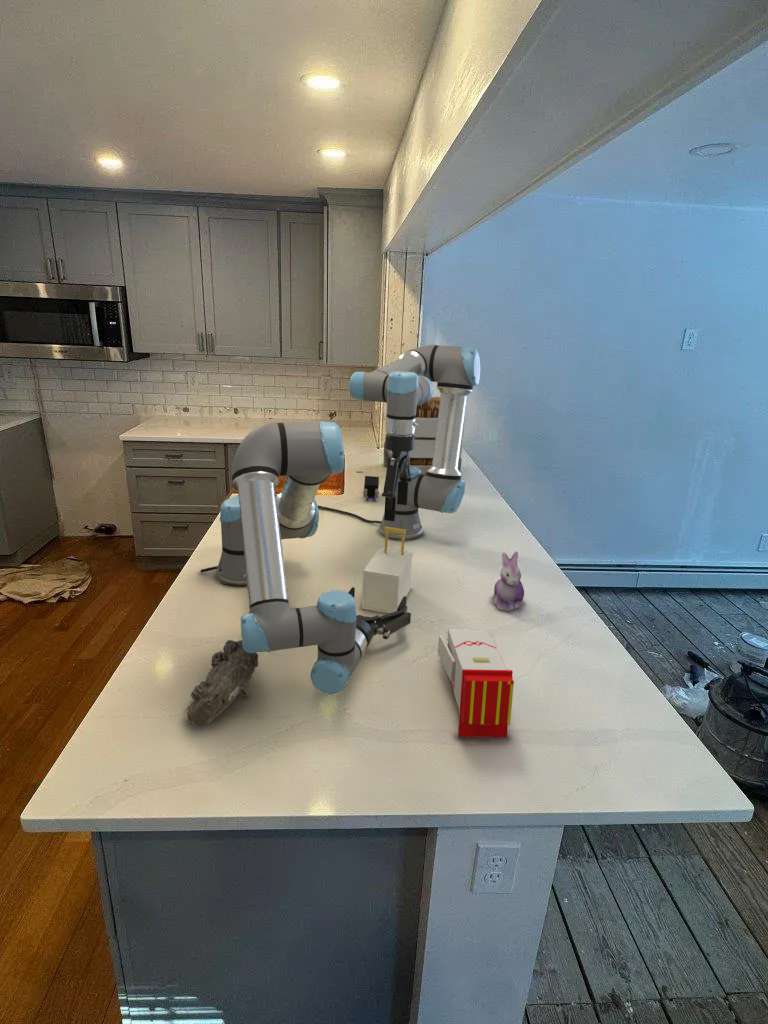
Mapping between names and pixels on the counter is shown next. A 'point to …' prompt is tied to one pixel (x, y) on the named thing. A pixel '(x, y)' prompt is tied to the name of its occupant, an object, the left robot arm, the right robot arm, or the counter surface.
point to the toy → (478, 682)
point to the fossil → (222, 682)
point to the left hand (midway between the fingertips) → (378, 596)
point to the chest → (385, 592)
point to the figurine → (509, 585)
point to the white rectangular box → (389, 559)
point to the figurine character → (371, 487)
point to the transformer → (424, 435)
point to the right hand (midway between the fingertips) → (396, 512)
